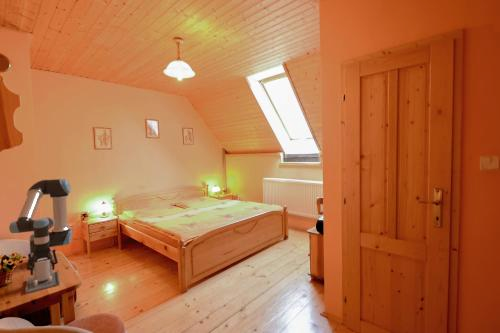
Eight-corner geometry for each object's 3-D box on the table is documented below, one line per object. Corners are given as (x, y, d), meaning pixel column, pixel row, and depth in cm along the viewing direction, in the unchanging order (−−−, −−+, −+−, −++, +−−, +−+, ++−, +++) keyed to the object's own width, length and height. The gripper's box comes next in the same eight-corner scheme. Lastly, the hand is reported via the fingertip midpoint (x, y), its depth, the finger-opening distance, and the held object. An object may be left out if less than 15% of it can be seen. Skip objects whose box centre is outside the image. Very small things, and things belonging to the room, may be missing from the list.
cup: (53, 276, 161) (53, 258, 161) (39, 282, 154) (38, 263, 154) (46, 274, 165) (46, 256, 164) (32, 279, 157) (31, 261, 157)
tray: (27, 280, 163) (27, 272, 163) (58, 272, 173) (57, 265, 173) (25, 294, 146) (25, 285, 146) (59, 284, 156) (59, 277, 156)
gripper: (19, 248, 149) (20, 284, 150) (62, 240, 163) (63, 274, 163) (20, 244, 155) (21, 280, 156) (61, 237, 168) (62, 270, 169)
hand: (43, 277), depth 159 cm, fingers closed on cup, 8 cm apart
